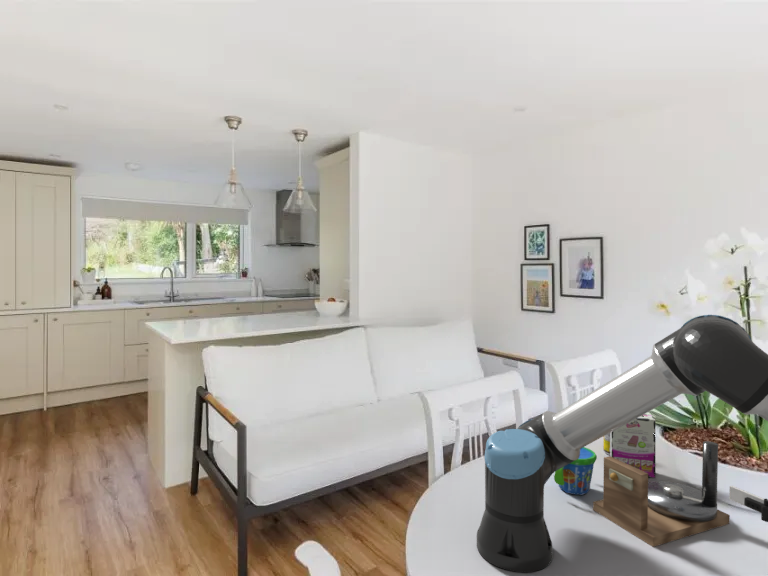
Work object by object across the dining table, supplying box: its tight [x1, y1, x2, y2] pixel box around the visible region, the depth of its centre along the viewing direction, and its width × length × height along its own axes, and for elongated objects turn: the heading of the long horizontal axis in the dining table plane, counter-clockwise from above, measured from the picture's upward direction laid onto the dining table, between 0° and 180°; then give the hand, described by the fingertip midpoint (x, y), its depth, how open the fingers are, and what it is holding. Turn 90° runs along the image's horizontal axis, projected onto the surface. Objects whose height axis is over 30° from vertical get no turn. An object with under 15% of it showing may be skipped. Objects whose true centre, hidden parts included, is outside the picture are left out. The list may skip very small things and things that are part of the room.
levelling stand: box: [592, 455, 731, 548], centre depth 107 cm, size 26×16×14 cm, turn 111°
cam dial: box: [648, 440, 719, 522], centre depth 108 cm, size 15×15×16 cm
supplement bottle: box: [602, 433, 610, 456], centre depth 145 cm, size 6×6×10 cm
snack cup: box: [553, 446, 598, 496], centre depth 121 cm, size 16×10×10 cm
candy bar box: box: [609, 414, 657, 478], centre depth 131 cm, size 11×5×16 cm, turn 70°
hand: (751, 486), depth 97 cm, fingers open, 13 cm apart
